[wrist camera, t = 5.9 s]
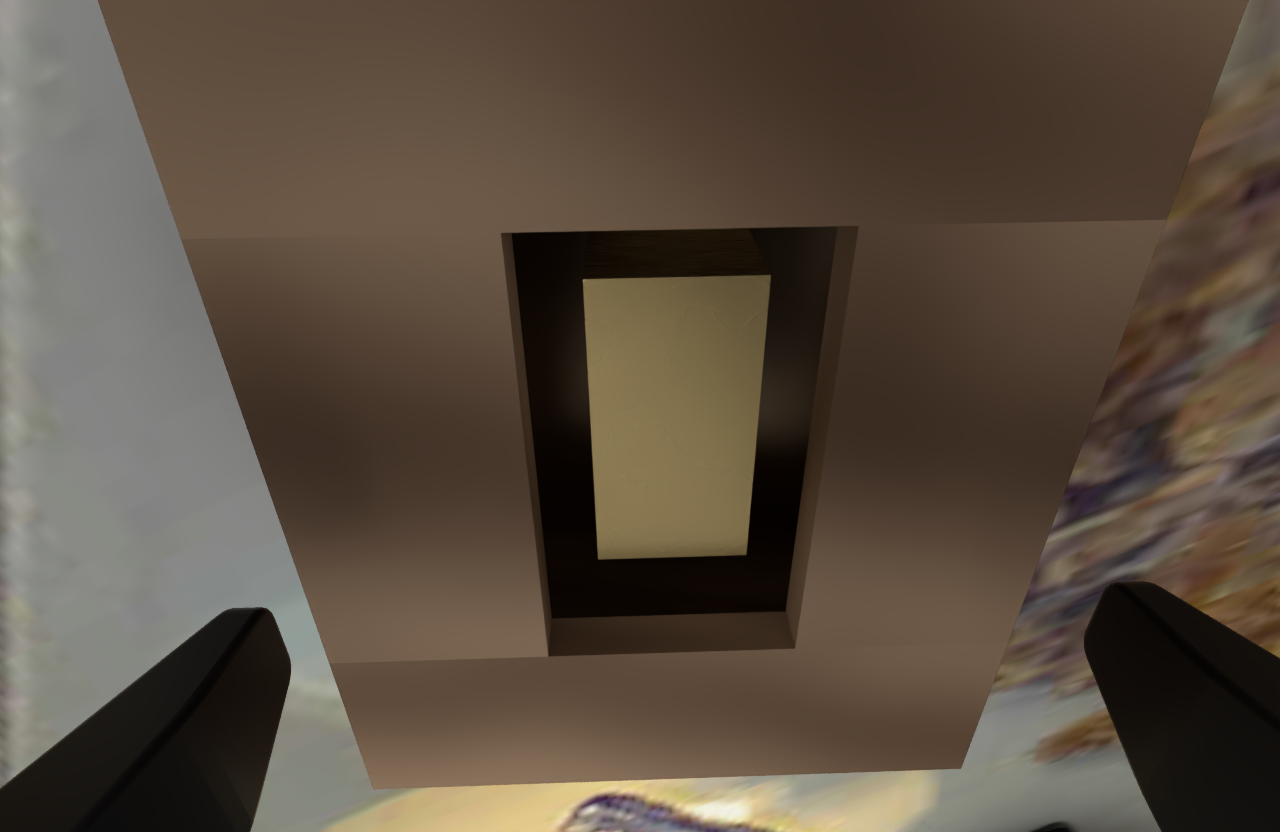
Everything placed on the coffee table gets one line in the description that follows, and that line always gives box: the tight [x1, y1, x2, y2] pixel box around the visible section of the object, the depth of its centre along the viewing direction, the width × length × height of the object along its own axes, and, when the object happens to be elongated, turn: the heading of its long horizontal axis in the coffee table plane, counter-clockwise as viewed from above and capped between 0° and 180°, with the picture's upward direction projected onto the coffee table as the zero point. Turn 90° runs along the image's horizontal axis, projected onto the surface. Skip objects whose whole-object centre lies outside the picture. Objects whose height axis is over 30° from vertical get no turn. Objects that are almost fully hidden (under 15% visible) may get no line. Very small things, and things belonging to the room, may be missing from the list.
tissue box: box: [98, 0, 1249, 789], centre depth 13 cm, size 14×11×7 cm
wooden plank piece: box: [583, 228, 771, 559], centre depth 13 cm, size 5×2×5 cm, turn 0°
